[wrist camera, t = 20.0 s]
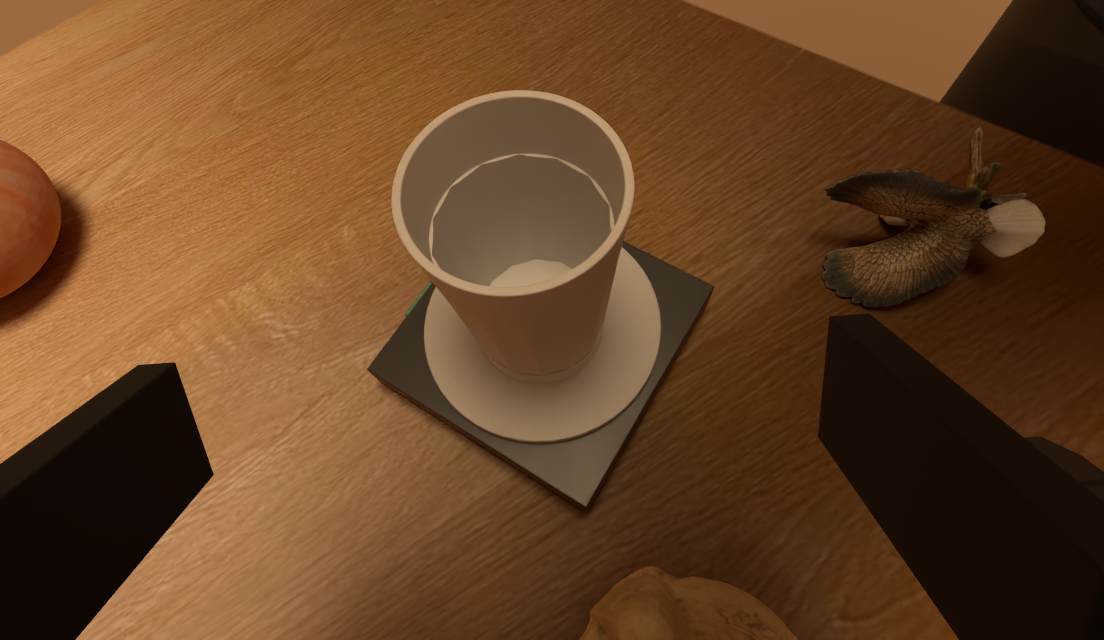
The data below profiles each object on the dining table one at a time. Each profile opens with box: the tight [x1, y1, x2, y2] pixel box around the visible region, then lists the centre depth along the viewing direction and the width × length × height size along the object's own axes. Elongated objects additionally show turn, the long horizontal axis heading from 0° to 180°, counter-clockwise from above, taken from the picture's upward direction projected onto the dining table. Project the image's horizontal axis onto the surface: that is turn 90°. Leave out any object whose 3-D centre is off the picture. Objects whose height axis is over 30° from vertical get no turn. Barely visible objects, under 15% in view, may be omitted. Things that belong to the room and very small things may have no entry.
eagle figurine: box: [822, 127, 1046, 307], centre depth 32 cm, size 8×7×9 cm
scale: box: [367, 241, 714, 513], centre depth 33 cm, size 13×13×3 cm
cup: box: [392, 90, 634, 384], centre depth 26 cm, size 8×8×12 cm
